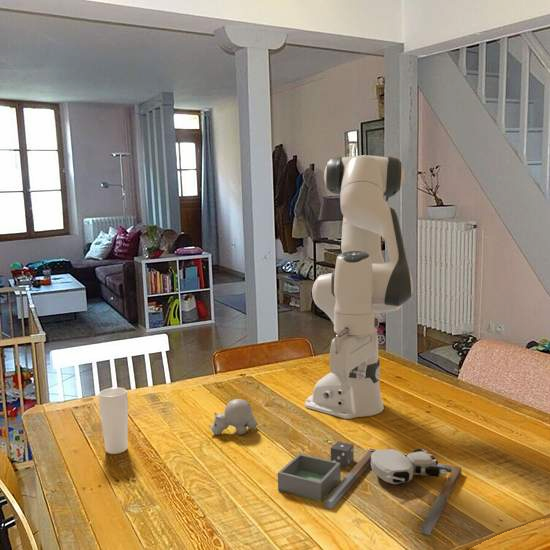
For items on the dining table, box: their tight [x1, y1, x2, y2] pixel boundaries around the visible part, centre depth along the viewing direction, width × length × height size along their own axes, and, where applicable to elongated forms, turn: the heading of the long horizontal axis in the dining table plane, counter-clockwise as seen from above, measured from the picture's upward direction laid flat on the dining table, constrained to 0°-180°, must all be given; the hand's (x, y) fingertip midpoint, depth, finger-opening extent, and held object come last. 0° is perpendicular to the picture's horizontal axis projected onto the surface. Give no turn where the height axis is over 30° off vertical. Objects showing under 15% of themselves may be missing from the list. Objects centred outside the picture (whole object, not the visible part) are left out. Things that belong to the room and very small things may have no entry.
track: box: [324, 448, 462, 536], centre depth 126 cm, size 21×28×2 cm
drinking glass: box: [98, 387, 129, 455], centre depth 146 cm, size 7×7×15 cm
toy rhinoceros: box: [208, 398, 258, 436], centre depth 156 cm, size 7×12×8 cm, turn 101°
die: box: [330, 441, 355, 469], centre depth 138 cm, size 4×4×4 cm
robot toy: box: [365, 448, 448, 485], centre depth 131 cm, size 12×4×15 cm
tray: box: [277, 453, 342, 503], centre depth 128 cm, size 10×10×4 cm
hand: (353, 383), depth 136 cm, fingers open, 8 cm apart
